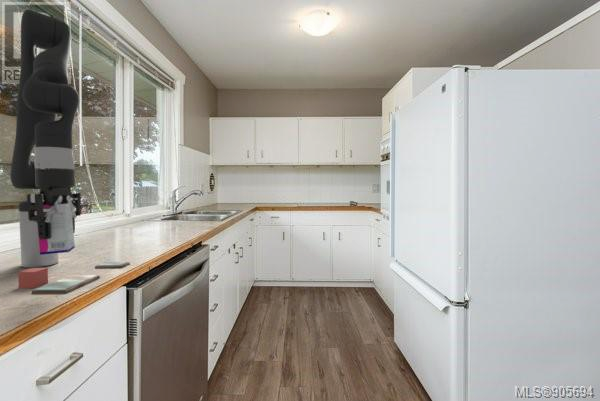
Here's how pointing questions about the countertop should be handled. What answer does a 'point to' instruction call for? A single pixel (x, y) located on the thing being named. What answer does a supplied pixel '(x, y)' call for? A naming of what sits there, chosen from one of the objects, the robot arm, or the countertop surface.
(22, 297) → the countertop surface
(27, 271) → the cube
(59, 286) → the track
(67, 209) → the supplement box
